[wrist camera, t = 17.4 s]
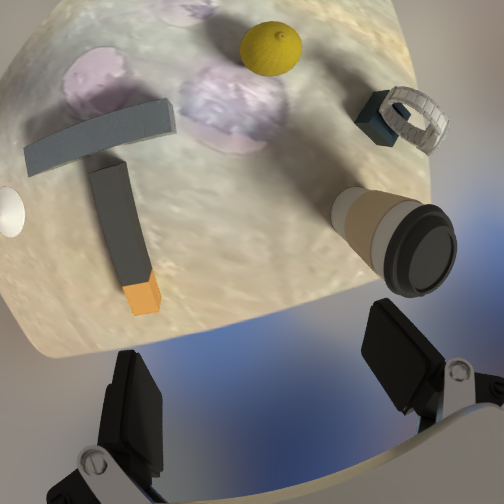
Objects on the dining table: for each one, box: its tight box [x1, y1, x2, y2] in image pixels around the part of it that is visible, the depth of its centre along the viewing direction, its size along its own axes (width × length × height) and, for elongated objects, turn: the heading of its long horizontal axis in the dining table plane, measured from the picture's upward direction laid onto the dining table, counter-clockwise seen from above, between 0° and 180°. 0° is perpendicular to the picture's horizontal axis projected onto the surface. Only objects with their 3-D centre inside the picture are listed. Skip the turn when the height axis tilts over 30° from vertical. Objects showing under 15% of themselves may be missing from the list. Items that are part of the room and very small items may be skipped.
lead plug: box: [89, 162, 161, 316], centre depth 27 cm, size 16×3×3 cm, turn 7°
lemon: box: [240, 21, 302, 77], centre depth 20 cm, size 6×6×8 cm
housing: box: [23, 98, 177, 177], centre depth 21 cm, size 3×15×6 cm, turn 97°
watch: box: [354, 86, 451, 156], centre depth 23 cm, size 6×8×11 cm
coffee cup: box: [331, 187, 457, 298], centre depth 26 cm, size 9×9×15 cm
